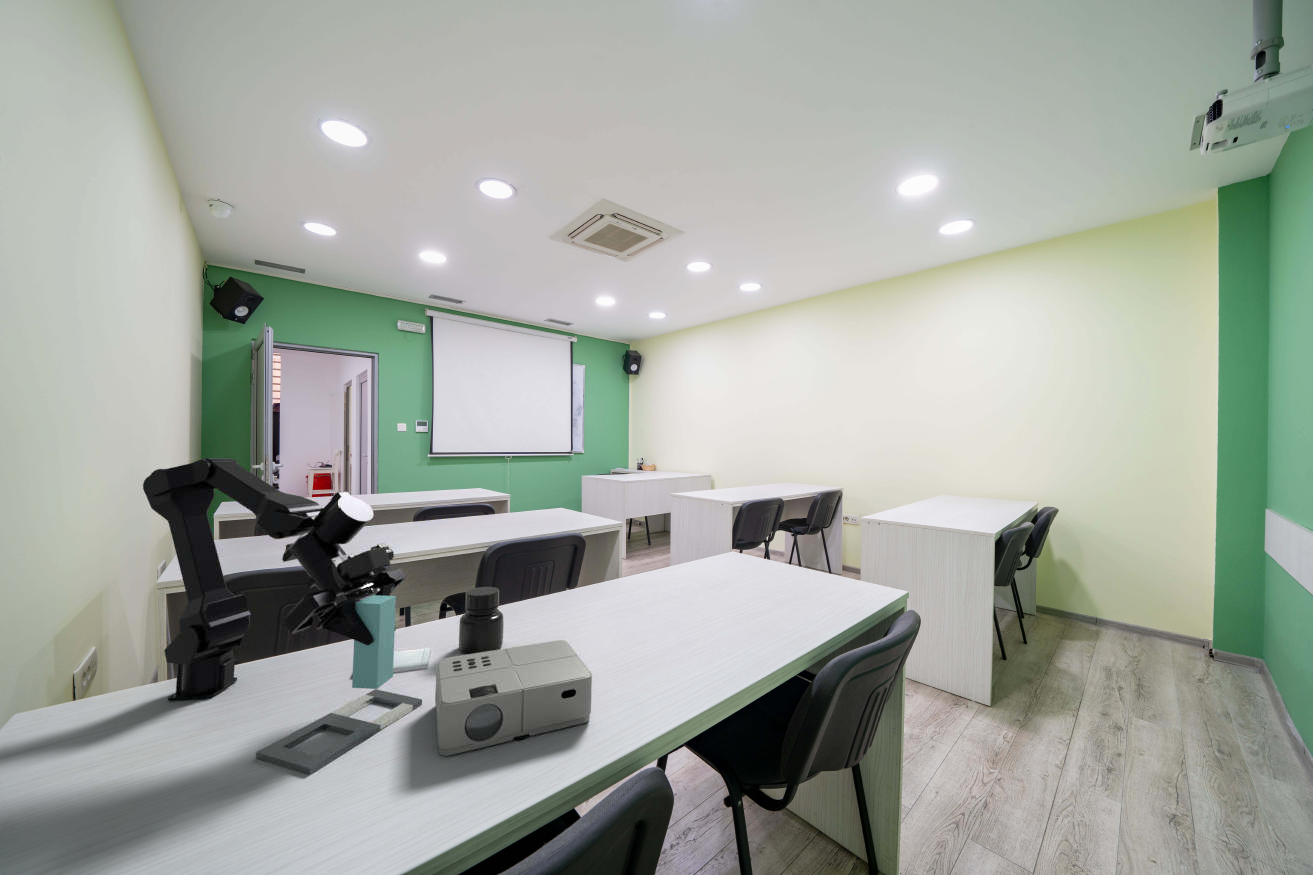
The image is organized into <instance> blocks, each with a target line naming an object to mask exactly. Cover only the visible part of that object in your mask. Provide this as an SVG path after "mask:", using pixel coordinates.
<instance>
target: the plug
mask: <svg viewBox="0 0 1313 875" xmlns="http://www.w3.org/2000/svg"><path fill="white" fill-rule="evenodd" d="M396 601H397V596H396V595H395V596H394V595H390V596H379V595H372V596H370V597H367V598H365V599H363V600H359V601H357V602H355V604H356V612H357V613H358V615H359V616H360V618H361V620H362V621H363V623H364V624H365V626H366V627H367V629H368V630H369V632H370V633H371V635H372V637H373V639H374V641H373V642H372V643H371V644H370V645H365V644H363V643H360V642H358V641H356V640H353V659H352V660H353V661H352V679H351V680H352V684H351V688H352V689H370V690H371V689H372V690H375V689H377V690H379V688H380V687H382V686H383V685H384V684H386V683H387V682H388V681H390V679H392V678H393V677H394V673H393V660H394V652H395V634H396V633H395V632H396V630H395V628H396V608H397V607H396V603H397V602H396Z"/></svg>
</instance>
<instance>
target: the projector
mask: <svg viewBox="0 0 1313 875" xmlns="http://www.w3.org/2000/svg"><path fill="white" fill-rule="evenodd" d="M435 668H436V671H435V672H436V673H435V676H436V677H435V692H434V693H435V697H434V703H435V716H436V717H435V718H436V719H435V720H436V734H437V746H438V751H439V754H440V755H441V756H447V757H449V756H452V755H457V754H461V753H465V752H470V751H475V750H477V749H481V748H485V747H489V746H490V747H491V746H495V745H498V744H502V743H506V742H510V741H513V740H515V741H521V740H524V739H526V738H527V737H528V735H529V736H530V737H532V736H536V735H540V734H544V733H548V732H553V731H557V730H560V729H561V730H562V729H564V728H568V727H573V726H576V725H577V726H578V725H582V724H585V723H587V722H588V721H590V717H591V716H590V715H591V713H592V690H593V689H592V684H593V679H592V678H593V673H592V672H591V670H590V669H589V668H588V667H587V665H586V664H585V663H584V661H583V660H582V659H581V657H580V656H579V655H578V653H576V651H575V650H574V648H573V647H572V646H571V645H570V643H569V642H568V641H566V640H562V639H558V640H551V641H546V642H537V643H532V644H527V645H520V646H513V647H507V648H501V649H500V648H499V649H497V650H493V651H487V652H480V653H474V654H463V655H456V656H449V657H445V658H442V659H440V660H438V661H437V662H436V667H435Z"/></svg>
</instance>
